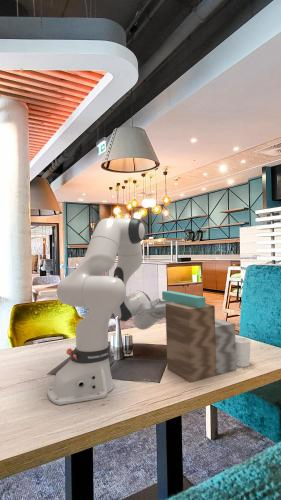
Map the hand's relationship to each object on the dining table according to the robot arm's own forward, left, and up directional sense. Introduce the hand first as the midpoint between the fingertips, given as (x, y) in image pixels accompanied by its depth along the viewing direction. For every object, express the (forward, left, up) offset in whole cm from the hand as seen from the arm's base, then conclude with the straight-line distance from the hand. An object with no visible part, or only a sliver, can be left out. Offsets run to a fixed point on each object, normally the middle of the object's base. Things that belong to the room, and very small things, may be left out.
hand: (168, 299), depth 136 cm
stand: (+5, -14, -26) cm, 30 cm away
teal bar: (0, -10, 0) cm, 10 cm away
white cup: (+22, -18, -27) cm, 39 cm away
